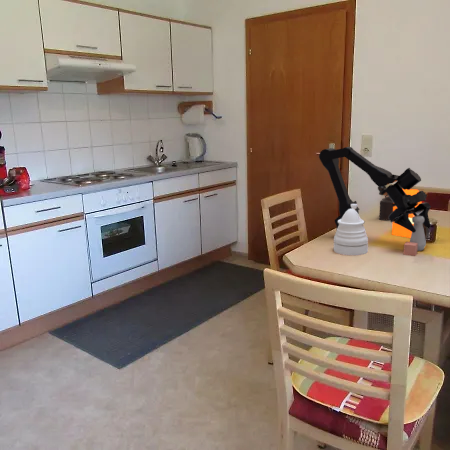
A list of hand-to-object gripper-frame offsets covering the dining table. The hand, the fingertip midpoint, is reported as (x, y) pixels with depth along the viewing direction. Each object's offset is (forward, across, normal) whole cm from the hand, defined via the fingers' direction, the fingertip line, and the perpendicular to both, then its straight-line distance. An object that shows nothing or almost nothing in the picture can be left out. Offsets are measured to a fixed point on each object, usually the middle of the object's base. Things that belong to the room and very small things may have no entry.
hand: (422, 229), depth 170 cm
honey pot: (-6, -20, +18) cm, 28 cm away
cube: (+6, -6, +6) cm, 10 cm away
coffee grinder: (-23, +33, +35) cm, 54 cm away
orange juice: (-7, +15, +19) cm, 25 cm away
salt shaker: (+5, 0, +7) cm, 8 cm away
